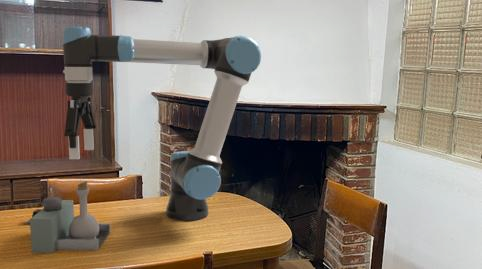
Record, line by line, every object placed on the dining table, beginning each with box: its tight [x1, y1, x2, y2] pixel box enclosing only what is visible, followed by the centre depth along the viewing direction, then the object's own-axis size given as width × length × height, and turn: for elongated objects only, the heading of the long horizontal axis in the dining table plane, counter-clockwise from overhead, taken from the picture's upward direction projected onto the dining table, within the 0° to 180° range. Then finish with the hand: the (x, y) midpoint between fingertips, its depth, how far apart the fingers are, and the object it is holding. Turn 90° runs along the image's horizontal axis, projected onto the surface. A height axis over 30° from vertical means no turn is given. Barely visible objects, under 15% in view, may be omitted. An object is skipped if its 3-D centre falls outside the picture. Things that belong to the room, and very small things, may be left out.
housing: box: [29, 196, 75, 254], centre depth 135 cm, size 6×18×13 cm, turn 2°
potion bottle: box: [68, 181, 100, 239], centre depth 135 cm, size 9×9×18 cm
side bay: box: [55, 222, 111, 251], centre depth 136 cm, size 12×14×3 cm
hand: (82, 154), depth 133 cm, fingers open, 13 cm apart
